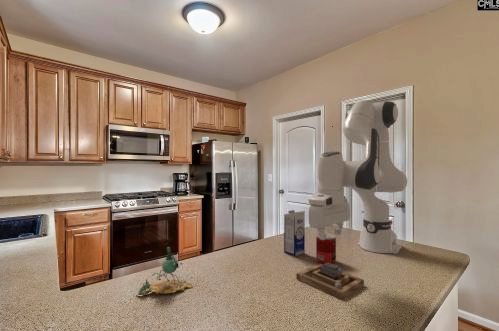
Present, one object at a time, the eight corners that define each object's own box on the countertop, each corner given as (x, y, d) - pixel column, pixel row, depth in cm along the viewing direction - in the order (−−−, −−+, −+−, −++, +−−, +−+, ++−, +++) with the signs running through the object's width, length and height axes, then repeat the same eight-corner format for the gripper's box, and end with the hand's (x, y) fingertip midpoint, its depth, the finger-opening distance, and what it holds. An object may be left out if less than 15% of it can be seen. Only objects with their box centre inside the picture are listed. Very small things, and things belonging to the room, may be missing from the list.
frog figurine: (138, 286, 83) (144, 241, 84) (193, 285, 88) (198, 243, 88) (133, 300, 74) (139, 250, 74) (194, 299, 78) (199, 252, 79)
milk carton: (294, 256, 110) (294, 212, 110) (283, 252, 115) (283, 210, 116) (304, 253, 115) (305, 210, 115) (293, 249, 120) (293, 208, 120)
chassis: (319, 268, 97) (319, 261, 97) (363, 285, 83) (363, 276, 83) (296, 278, 88) (296, 270, 88) (341, 299, 75) (341, 289, 75)
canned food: (337, 265, 101) (337, 238, 101) (316, 263, 102) (316, 237, 102) (334, 258, 108) (334, 233, 108) (315, 257, 110) (315, 232, 110)
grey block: (326, 277, 90) (326, 261, 90) (341, 282, 86) (341, 266, 86) (320, 280, 88) (320, 263, 88) (335, 286, 83) (335, 269, 83)
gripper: (338, 194, 96) (338, 229, 96) (305, 199, 83) (305, 240, 83) (354, 196, 91) (354, 233, 91) (321, 201, 78) (321, 244, 78)
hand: (330, 236), depth 87 cm, fingers open, 8 cm apart
